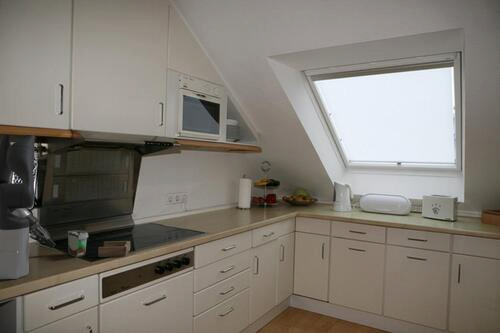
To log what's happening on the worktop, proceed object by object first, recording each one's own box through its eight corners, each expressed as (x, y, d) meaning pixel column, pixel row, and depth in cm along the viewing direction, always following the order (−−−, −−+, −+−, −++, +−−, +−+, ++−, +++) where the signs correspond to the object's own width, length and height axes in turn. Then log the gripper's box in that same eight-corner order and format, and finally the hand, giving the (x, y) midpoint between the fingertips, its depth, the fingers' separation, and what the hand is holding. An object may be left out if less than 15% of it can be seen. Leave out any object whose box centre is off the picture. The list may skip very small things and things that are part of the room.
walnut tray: (126, 256, 153) (126, 247, 153) (98, 257, 151) (98, 247, 151) (130, 249, 166) (130, 240, 166) (104, 250, 163) (104, 241, 163)
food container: (93, 255, 154) (93, 233, 154) (78, 258, 149) (79, 234, 149) (81, 250, 162) (81, 229, 162) (67, 253, 157) (67, 231, 157)
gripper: (23, 215, 145) (55, 243, 147) (36, 211, 158) (65, 237, 160) (9, 228, 144) (41, 256, 146) (23, 223, 157) (52, 249, 159)
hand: (53, 246), depth 153 cm, fingers closed
